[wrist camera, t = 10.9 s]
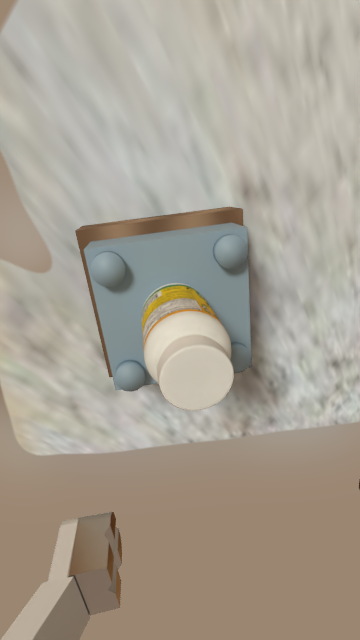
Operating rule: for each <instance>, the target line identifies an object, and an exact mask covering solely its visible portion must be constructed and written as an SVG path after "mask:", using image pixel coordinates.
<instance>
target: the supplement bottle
mask: <svg viewBox="0 0 360 640" xmlns="http://www.w3.org/2000/svg"><path fill="white" fill-rule="evenodd" d="M141 321H142V333H143V350H144V360H145V364H146V367H147V370H148V372H149V373H150V375H151V376H152V378H153V379H154V380H155V381H156V382H157V383H158V384H159V386H160V389H161V392H162V394H163V396H164V397H165V398H166V399H167V401H168V402H170V403H171V404H172V405H174V406H176V407H178V408H181V409H185V410H201V409H205V408H208V407H211V406H213V405H215V404H216V403H218V402H219V401H221V400H222V399H223V398H224V397H225V396H226V395H227V393H228V392H229V390H230V388H231V386H232V383H233V379H234V370H233V366H232V363H231V361H230V359H231V351H232V350H231V341H230V338H229V335H228V333H227V331H226V330H225V328H224V326H223V325H222V323H221V322H220V320H219V319H218V317H217V316H216V314H215V313H214V312H213V310H212V308H211V307H210V306H209V304H208V302H207V301H206V299H205V298H204V297H203V296H202V295H201V294H200V293H199V292H198V291H197V290H196V289H195V288H193V287H191V286H189V285H187V284H183V283H171V284H166V285H163V286H161V287H159V288H158V289H156V290H155V291H153V292H152V293H151V294H150V295H149V297H148V298H147V299H146V301H145V303H144V305H143V309H142V314H141Z"/></svg>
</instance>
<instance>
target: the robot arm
mask: <svg viewBox="0 0 360 640" xmlns="http://www.w3.org/2000/svg"><path fill="white" fill-rule="evenodd" d="M359 489H360V482H359ZM115 525H116V518H115V515H114V512H109V513H104V514H98V515H92V516H87V517H81V518H75V519H70V520H65V521H63V522H62V524H61V526H60V530H59V534H58V538H57V543H56V548H55V552H54V556H53V560H52V565H51V569H50V574H49V578H48V582H44V583H42V584H41V586H40V587H39V588H38V590H37V591H36V593H35V594H34V595H33V596H32V598H31V599H30V601H29V602H28V603H27V605H26V606H25V608H24V609H23V610H22V611H21V613H20V614H19V616H18V617H17V618H16V620H15V621H14V623H13V624H12V625H11V627H10V628H9V629H8V631H7V632H6V633H5V635H4V636H3V637H2V639H1V640H79V639H80V637H81V635H82V633H83V631H84V629H85V627H86V625H87V622H88V621H89V619H90V616H89V615H93V614H97V613H101V612H105V611H109V610H113V609H116V608H120V594H121V593H120V592H121V579H120V576H119V572H118V569H119V567H120V566H121V564H122V546H121V537H120V532H119V529H118V528H117V527H115Z"/></svg>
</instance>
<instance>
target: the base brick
mask: <svg viewBox="0 0 360 640" xmlns="http://www.w3.org/2000/svg"><path fill="white" fill-rule="evenodd" d="M225 223H235V224H238V225H241V226H243V209H241V208H234V207H224V208H217V209H209V210H201V211H194V212H186V213H178V214H171V215H163V216H156V217H148V218H140V219H133V220H125V221H117V222H110V223H102V224H95V225H87V226H82V227H80V228H79V229H77V230H76V236H77V240H78V244H79V249H80V253H81V257H82V261H83V266H84V270H85V274H86V278H87V283H88V287H89V291H90V296H91V300H92V304H93V308H94V313H95V317H96V321H97V326H98V330H99V334H100V338H101V343H102V347H103V351H104V355H105V360H106V364H107V368H108V373H109V377H113V376H112V371H111V367H110V363H109V358H108V354H107V350H106V345H105V341H104V337H103V332H102V328H101V324H100V319H99V315H98V310H97V306H96V302H95V297H94V293H93V289H92V284H91V280H90V276H89V271H88V267H87V262H86V258H85V254H84V249H85V248H86V246H87V245H88V244H89V243H90V242H92V241H99V240H107V239H114V238H122V237H129V236H136V235H144V234H151V233H159V232H166V231H173V230H181V229H188V228H195V227H203V226H210V225H218V224H225Z"/></svg>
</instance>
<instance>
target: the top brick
mask: <svg viewBox="0 0 360 640" xmlns="http://www.w3.org/2000/svg"><path fill="white" fill-rule="evenodd" d="M84 254H85V258H86V262H87V267H88V271H89V276H90V280H91V284H92V289H93V293H94V297H95V302H96V306H97V310H98V315H99V319H100V324H101V328H102V332H103V337H104V341H105V345H106V350H107V354H108V358H109V363H110V367H111V371H112V376H113V380H114V385H115V389H116V390H121V389H122V390H124V391H135V390H137V389H139V388H141V387H142V386H144V385H150V384H155V383H157V382H156V381H155V380H154V379H153V378H152V376H151V375H150V373H149V372H148V370H147V367H146V364H145V360H144V350H143V333H142V321H141V314H142V309H143V305H144V303H145V301H146V299H147V298H148V297H149V295H150V294H151V293H152V292H153V291H155V290H156V289H158V288H159V287H161V286H163V285H166V284H171V283H183V284H187V285H189V286H191V287H193V288H195V289H196V290H197V291H198V292H199V293H200V294H201V295H202V296H203V297H204V298H205V299H206V301H207V302H208V304H209V306H210V307H211V308H212V310H213V312H214V313H215V314H216V316H217V317H218V319H219V320H220V322H221V323H222V325H223V326H224V328H225V330H226V331H227V333H228V335H229V338H230V341H231V350H232V351H231V359H230V361H231V363H232V366H233V370H234V373H239V372H242V371H244V370H246V369H247V368H248V367H252V364H251V360H252V356H251V333H250V302H249V271H248V240H247V227H244V226H241V225H238V224H235V223H225V224H218V225H210V226H203V227H195V228H188V229H181V230H173V231H166V232H159V233H151V234H144V235H136V236H129V237H122V238H114V239H107V240H99V241H92V242H90V243H89V244H88V245H87V246H86V248H85V249H84Z"/></svg>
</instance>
